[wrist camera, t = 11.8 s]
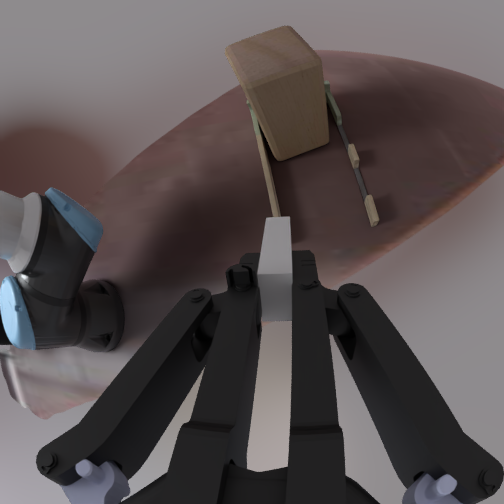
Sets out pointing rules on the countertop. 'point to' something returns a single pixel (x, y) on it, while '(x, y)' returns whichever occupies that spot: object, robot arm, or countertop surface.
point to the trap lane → (349, 147)
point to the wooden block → (283, 89)
